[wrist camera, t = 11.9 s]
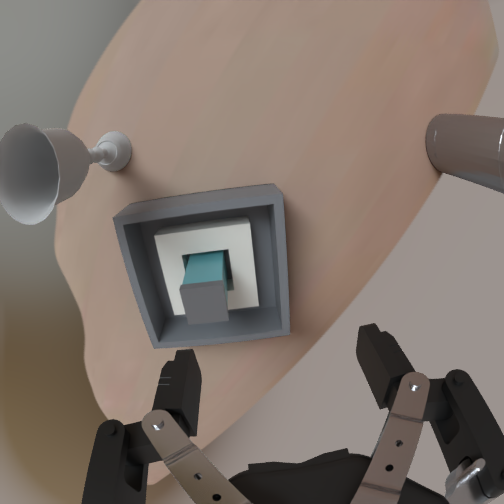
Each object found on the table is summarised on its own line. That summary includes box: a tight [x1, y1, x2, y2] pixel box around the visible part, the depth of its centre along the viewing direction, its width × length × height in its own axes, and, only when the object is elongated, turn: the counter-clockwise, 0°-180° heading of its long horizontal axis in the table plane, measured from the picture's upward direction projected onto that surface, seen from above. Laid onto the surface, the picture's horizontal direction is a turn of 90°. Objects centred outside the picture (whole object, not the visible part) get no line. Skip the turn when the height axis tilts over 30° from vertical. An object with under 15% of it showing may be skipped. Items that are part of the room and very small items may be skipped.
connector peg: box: [179, 250, 229, 325], centre depth 32 cm, size 4×4×10 cm
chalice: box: [0, 123, 131, 224], centre depth 22 cm, size 7×7×18 cm
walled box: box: [113, 184, 290, 349], centre depth 35 cm, size 18×18×6 cm
